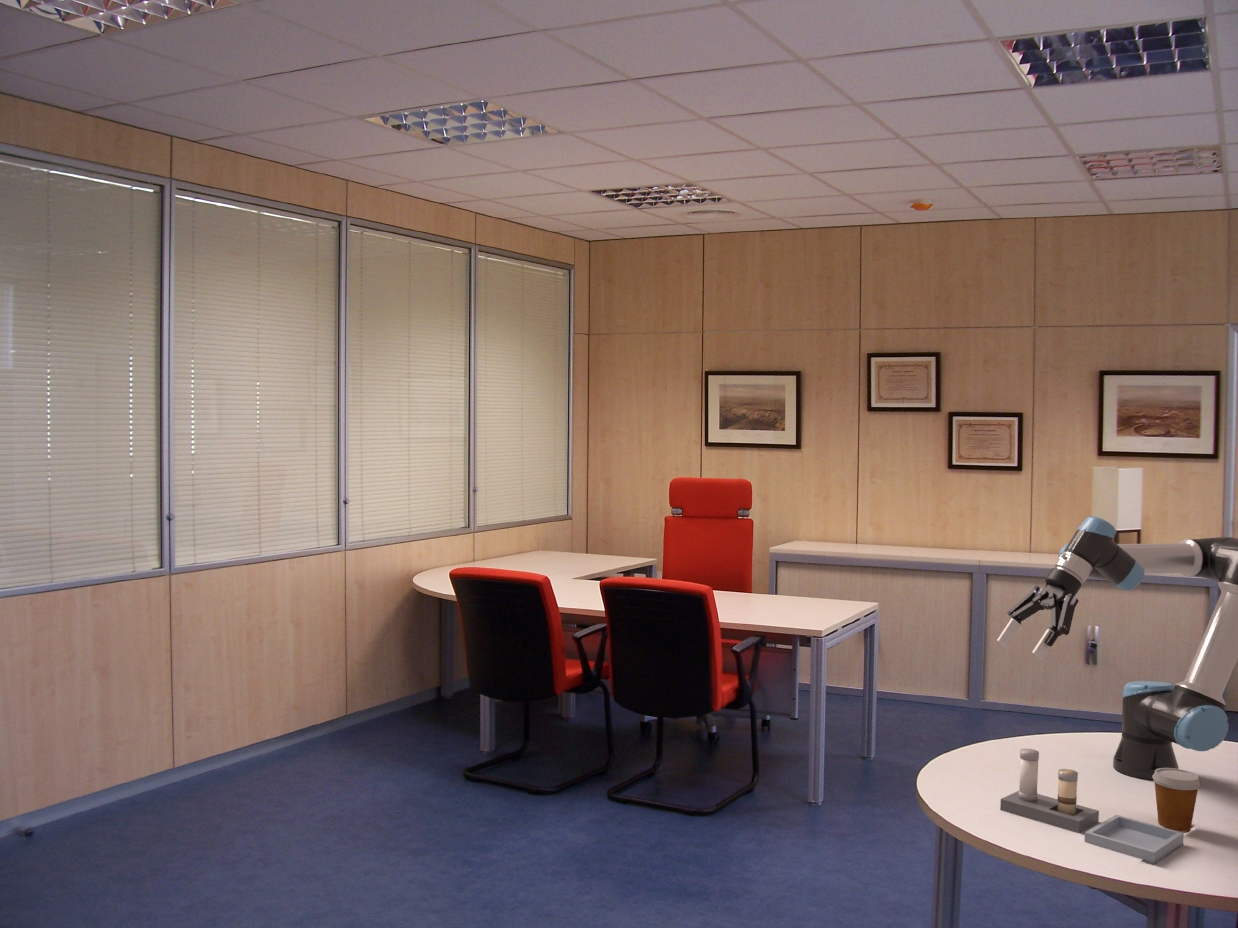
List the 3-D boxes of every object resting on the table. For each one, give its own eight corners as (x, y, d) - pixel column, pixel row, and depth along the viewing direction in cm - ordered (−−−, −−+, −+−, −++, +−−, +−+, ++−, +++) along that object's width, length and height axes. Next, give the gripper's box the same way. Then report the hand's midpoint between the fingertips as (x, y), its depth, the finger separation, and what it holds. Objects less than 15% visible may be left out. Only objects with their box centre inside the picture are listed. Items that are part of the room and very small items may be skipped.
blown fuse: (1061, 815, 243) (1063, 767, 242) (1079, 820, 240) (1080, 772, 239) (1053, 820, 240) (1055, 771, 240) (1071, 825, 237) (1072, 775, 237)
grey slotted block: (1021, 801, 253) (1023, 742, 252) (1098, 823, 240) (1100, 761, 239) (1000, 811, 246) (1002, 751, 245) (1078, 834, 233) (1080, 770, 232)
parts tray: (1115, 825, 239) (1116, 814, 239) (1183, 844, 229) (1183, 832, 228) (1084, 843, 228) (1084, 832, 228) (1153, 864, 218) (1153, 852, 218)
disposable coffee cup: (1197, 838, 232) (1199, 783, 231) (1148, 829, 237) (1150, 775, 236) (1200, 825, 240) (1202, 772, 239) (1152, 816, 245) (1154, 764, 244)
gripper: (1024, 559, 265) (977, 630, 263) (1092, 573, 241) (1041, 651, 238) (1045, 576, 267) (998, 647, 264) (1115, 592, 243) (1064, 670, 240)
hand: (1018, 649), depth 251 cm, fingers open, 13 cm apart
